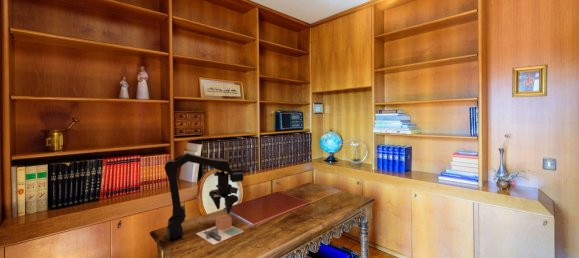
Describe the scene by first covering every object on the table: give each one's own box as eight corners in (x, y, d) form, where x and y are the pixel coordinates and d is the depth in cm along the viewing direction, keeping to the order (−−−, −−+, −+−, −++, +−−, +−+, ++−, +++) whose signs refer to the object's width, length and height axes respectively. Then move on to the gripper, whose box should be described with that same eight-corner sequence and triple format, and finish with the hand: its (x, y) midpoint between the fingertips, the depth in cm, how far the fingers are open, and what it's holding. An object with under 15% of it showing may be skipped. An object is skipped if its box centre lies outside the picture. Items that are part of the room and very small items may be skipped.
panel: (213, 247, 122) (213, 238, 121) (195, 235, 132) (195, 227, 132) (243, 233, 135) (243, 225, 135) (225, 224, 146) (225, 217, 145)
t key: (206, 237, 128) (206, 231, 127) (216, 233, 132) (216, 227, 132) (214, 243, 123) (214, 236, 122) (225, 238, 127) (225, 232, 127)
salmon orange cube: (222, 230, 136) (222, 221, 135) (215, 227, 140) (215, 218, 139) (231, 226, 140) (231, 217, 140) (225, 223, 144) (224, 214, 144)
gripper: (246, 183, 138) (246, 211, 139) (225, 177, 150) (225, 203, 151) (229, 187, 130) (229, 218, 131) (208, 181, 142) (208, 208, 143)
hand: (223, 211), depth 139 cm, fingers open, 9 cm apart
